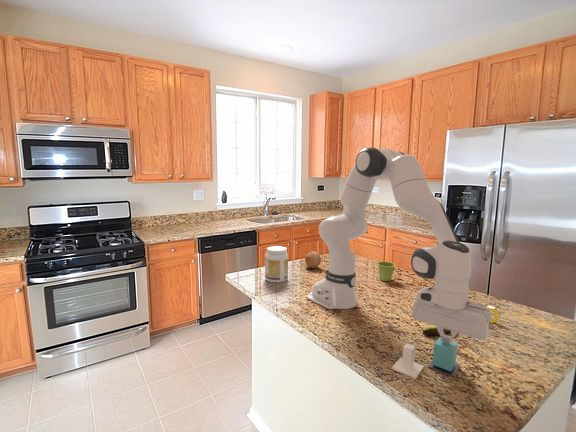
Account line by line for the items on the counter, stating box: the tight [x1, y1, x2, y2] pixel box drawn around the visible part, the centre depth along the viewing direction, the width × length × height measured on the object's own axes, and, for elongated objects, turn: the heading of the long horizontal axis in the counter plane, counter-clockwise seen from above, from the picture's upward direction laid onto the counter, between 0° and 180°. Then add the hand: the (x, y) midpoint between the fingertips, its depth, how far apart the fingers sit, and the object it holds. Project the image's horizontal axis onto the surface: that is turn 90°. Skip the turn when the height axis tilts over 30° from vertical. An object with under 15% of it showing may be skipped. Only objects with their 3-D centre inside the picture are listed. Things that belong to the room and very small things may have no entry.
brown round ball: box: [304, 250, 322, 269], centre depth 192 cm, size 10×10×10 cm
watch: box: [485, 305, 499, 324], centre depth 127 cm, size 6×3×6 cm, turn 18°
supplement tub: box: [264, 245, 289, 284], centre depth 170 cm, size 12×12×17 cm
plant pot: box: [376, 261, 397, 282], centre depth 173 cm, size 9×9×9 cm
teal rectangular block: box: [432, 336, 459, 371], centre depth 96 cm, size 5×5×7 cm
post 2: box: [428, 359, 461, 378], centre depth 96 cm, size 7×7×7 cm
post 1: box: [391, 342, 425, 380], centre depth 95 cm, size 7×7×7 cm
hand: (446, 342), depth 96 cm, fingers closed
